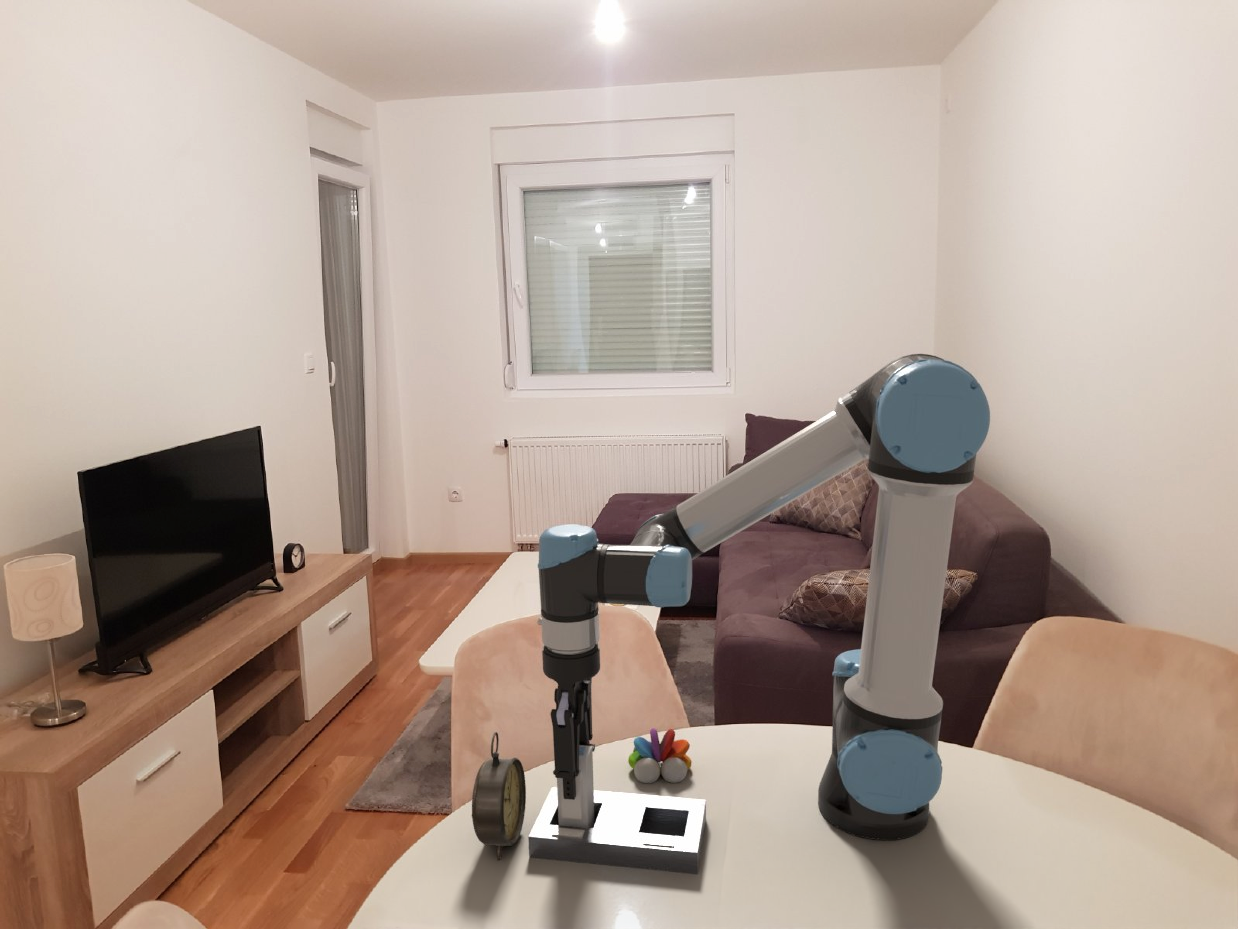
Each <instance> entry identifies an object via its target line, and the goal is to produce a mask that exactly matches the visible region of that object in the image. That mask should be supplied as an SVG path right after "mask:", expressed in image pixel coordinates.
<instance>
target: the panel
mask: <svg viewBox="0 0 1238 929" xmlns="http://www.w3.org/2000/svg"><path fill="white" fill-rule="evenodd" d="M594 820H595V826H594V828H582V827H571V826H560V825H559V820H558V794H557V786H552V787H551V788H550V790H549V793H548V794H547V797H546V799H545V801H544V802H543V805H542V807H541V809H540V812H539V813H538V815H537V818H536V820H535V822H534V824H533V826H532V828H531V830H530V832H529V834H528V855H529V858H530V859H540V860H549V861H561V862H570V863H578V864H579V863H580V864H582V863H583V864H592V865H600V866H611V867H619V868H629V869H639V870H640V869H642V870H651V871H660V872H661V871H662V872H668V873H669V872H670V873H671V872H672V873H680V874H681V873H682V874H690V875H698V873H699V868H700V860H701V854H702V847H703V842H704V841H703V839H704V834H705V828H706V822H707V799H702V798H691V797H680V796H679V797H677V796H667V795H666V796H665V795H654V794H641V793H630V792H629V793H628V792H620V791H619V792H618V791H607V790H606V791H605V790H596V789H595V790H594Z"/></svg>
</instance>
